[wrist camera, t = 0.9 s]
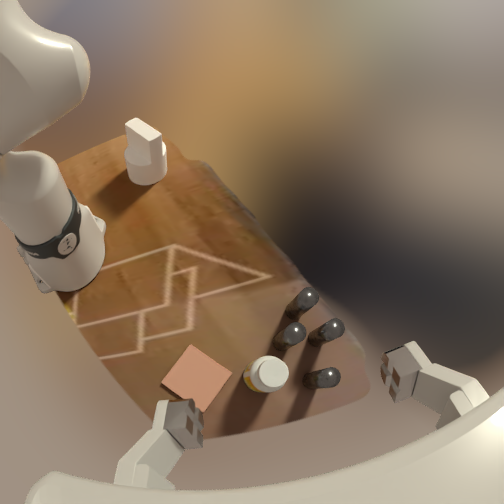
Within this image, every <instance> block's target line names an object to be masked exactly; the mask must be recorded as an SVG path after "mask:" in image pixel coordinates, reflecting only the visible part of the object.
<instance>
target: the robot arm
mask: <svg viewBox="0 0 504 504" xmlns="http://www.w3.org/2000/svg"><path fill="white" fill-rule="evenodd" d="M89 79H90V65H89V60H88V56H87V54H86V52H85V50H84V49H83V47H82V46H81V45H80V44H79V43H78V42H77V41H76V40H75V39H73V38H71V37H69V36H67V35H63V34H59V33H55V32H52V31H49V30H47V29H45V28H43V27H41V26H39V25H38V24H36V23H35V22H34V21H32V20H31V19H30V18H29V17H28V16H27V15H26V14H25V12H24V11H23V9H22V8H21V6H20V4H19V2H18V0H0V219H1V220H2V221H3V222H4V223H5V224H6V225H7V226H8V228H9V229H10V230H11V231H12V232H13V233H14V234H15V237H16V239H17V241H18V243H19V246H18V247H17V250H18V252H19V254H20V255H21V256H22V257H24V261H25V263H26V264H27V265H28V267H29V269H30V271H31V273H32V276H33V278H34V280H35V282H36V284H37V286H38V288H39V290H40V291H41V292H42V293H49V292H52V291H56V290H57V291H65V292H69V291H74V290H78V289H80V288H82V287H84V286H85V285H87V284H88V283H89V282H90V281H92V280H93V278H94V277H95V276H96V275H97V273H98V272H99V270H100V268H101V266H102V264H103V261H104V256H105V245H104V234H105V230H106V224H105V222H104V221H103V220H102V219H100V218H98V217H96V216H94V215H92V213H91V211H90V210H89V208H88V207H87V206H83V205H82V204H79V203H78V201H77V199H76V197H75V196H74V195H73V193H72V192H71V190H70V189H68V188H67V186H66V184H65V182H64V180H63V177H62V175H61V173H60V171H59V168H58V166H57V164H56V162H55V161H54V160H53V159H52V158H51V157H49V156H48V155H46V154H44V153H41V152H38V151H23V152H11V151H10V150H12V149H13V148H15V147H16V146H18V145H19V144H21V143H22V142H24V141H25V140H27V139H29V138H30V137H32V136H34V135H35V134H37V133H39V132H40V131H42V130H44V129H46V128H48V127H49V126H51V125H52V124H53V123H55V122H56V121H57V120H59V119H60V118H61V117H63V116H64V115H65V114H67V113H68V112H69V111H71V110H72V109H73V108H75V107H76V106H77V105H79V104H80V103H81V102H82V100H83V98H84V96H85V93H86V91H87V88H88V84H89ZM41 281H43V282H42V283H41ZM382 361H383V364H382V365H381V377H382V379H383V382H384V384H385V385H386V386H388V387H390V390H389V393H390V395H391V397H392V399H393V401H394V403H397V402H399V401H402V400H404V399H407V398H409V397H412V398H414V399H415V400H417V401H419V402H420V403H422V404H424V405H425V406H427V407H429V408H430V409H432V410H434V411H436V412H437V413H439V414H441V416H440V419H439V420H438V422H437V424H436V428H437V430H436V431H434V432H432V433H430V434H428V435H427V436H424V437H422V438H420V439H418V440H416V441H414V442H412V443H410V444H407V445H405V446H403V447H400V448H398V449H396V450H393V451H391V452H388V453H386V454H383V455H381V456H378V457H376V458H373V459H370V460H367V461H364V462H361V463H358V464H355V465H352V466H349V467H346V468H343V469H339V470H336V471H332V472H328V473H324V474H320V475H316V476H312V477H308V478H303V479H298V480H293V481H288V482H282V483H276V484H270V485H263V486H255V487H247V488H235V489H220V490H175V486H174V485H173V484H172V483H171V482H169V481H168V480H166V479H165V478H166V477H167V475H168V474H169V472H170V471H171V469H172V468H173V467H174V465H175V464H176V462H177V461H178V459H179V458H180V456H181V455H182V454H183V452H184V451H185V450H184V449H195V448H202V447H203V435H202V434H201V432H200V431H201V430H202V429H203V428H204V420H203V415H202V413H201V411H200V409H199V408H197V407H195V401H194V400H193V399H192V398H189V399H175V400H160V401H159V402H158V403H157V407H156V412H155V416H154V421H153V426H152V430H148V431H147V432H146V433H145V435H144V436H143V437H142V438H141V439H140V440H139V441H138V442H137V443H136V444H135V445H134V446H133V447H132V448H131V449H130V450H129V451H128V452H127V454H125V455H124V456H123V457H122V458H121V459H120V461H119V462H118V466H117V470H116V475H115V479H114V484H111V483H105V482H100V481H95V480H90V479H86V478H81V477H77V476H73V475H69V474H66V473H62V472H59V471H52V472H50V473H48V474H47V475H45V476H44V477H43V478H41V479H40V480H39V481H37V482H36V483H35V484H34V485H33V486H32V487H31V489H30V491H29V493H28V495H27V498H26V501H25V503H24V504H504V387H503V388H502V389H501V390H499V391H498V392H497V393H495V394H494V395H493V396H492V397H489V396H488V394H487V393H486V392H485V390H484V389H483V387H482V386H481V385H480V383H479V382H478V381H477V380H476V379H475V378H472V377H469V376H467V375H464V374H462V373H459V372H456V371H454V370H451V369H449V368H446V367H443V366H441V365H438V364H436V363H434V364H432V363H431V362H430V361H429V359H428V358H427V357H426V355H425V354H424V353H423V351H422V350H421V349H420V347H419V346H418V345H417V343H416V342H414V341H412V342H410V343H407V344H405V345H402V346H399V347H397V348H394V349H392V350H389V351H387V352H384V353H383V354H382Z"/></svg>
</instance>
